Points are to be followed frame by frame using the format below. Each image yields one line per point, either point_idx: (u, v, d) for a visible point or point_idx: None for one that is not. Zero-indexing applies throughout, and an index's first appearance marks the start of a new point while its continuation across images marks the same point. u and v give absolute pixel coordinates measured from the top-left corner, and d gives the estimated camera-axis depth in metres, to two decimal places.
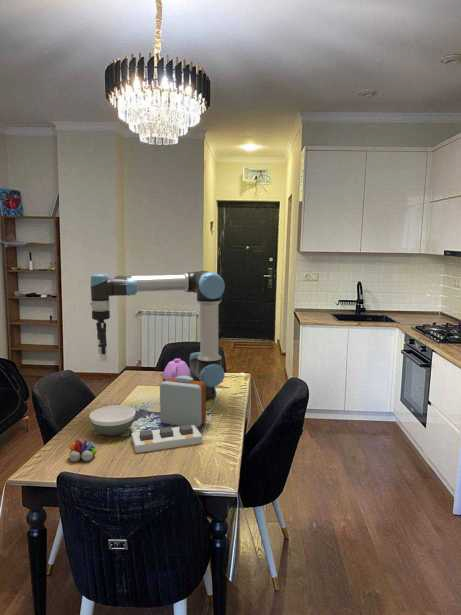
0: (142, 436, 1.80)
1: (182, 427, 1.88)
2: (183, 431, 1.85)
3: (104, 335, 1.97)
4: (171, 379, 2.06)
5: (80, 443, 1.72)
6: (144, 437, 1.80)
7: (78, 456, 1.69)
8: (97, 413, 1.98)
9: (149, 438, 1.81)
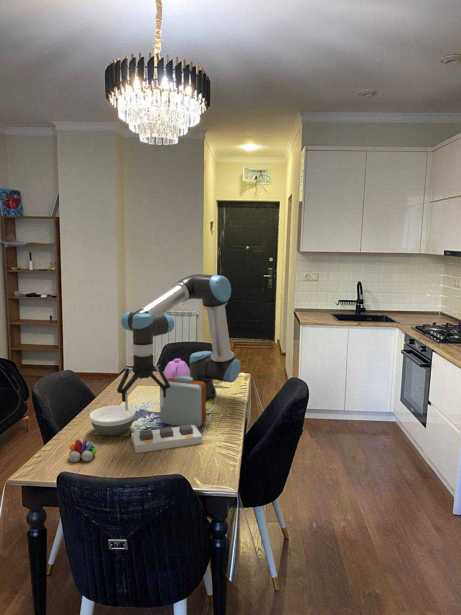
0: (142, 436, 1.80)
1: (182, 427, 1.88)
2: (183, 431, 1.85)
3: (121, 381, 1.77)
4: (171, 379, 2.06)
5: (80, 443, 1.72)
6: (144, 437, 1.80)
7: (78, 456, 1.68)
8: (97, 413, 1.98)
9: (149, 438, 1.81)
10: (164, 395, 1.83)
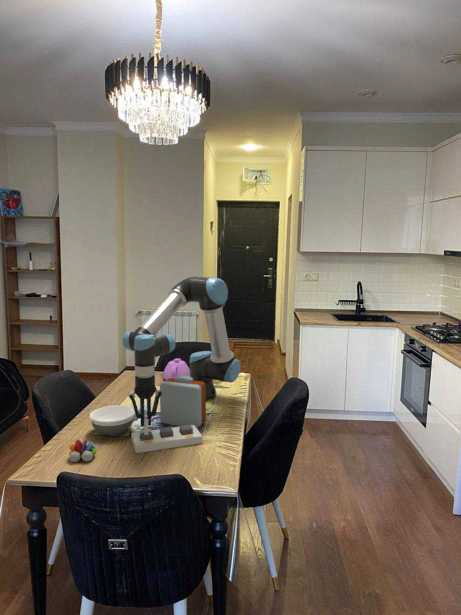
0: (142, 438, 1.80)
1: (182, 427, 1.88)
2: (183, 431, 1.85)
3: None
4: (171, 379, 2.06)
5: (80, 443, 1.72)
6: (144, 439, 1.80)
7: (78, 456, 1.68)
8: (97, 413, 1.98)
9: None
10: (149, 423, 1.82)
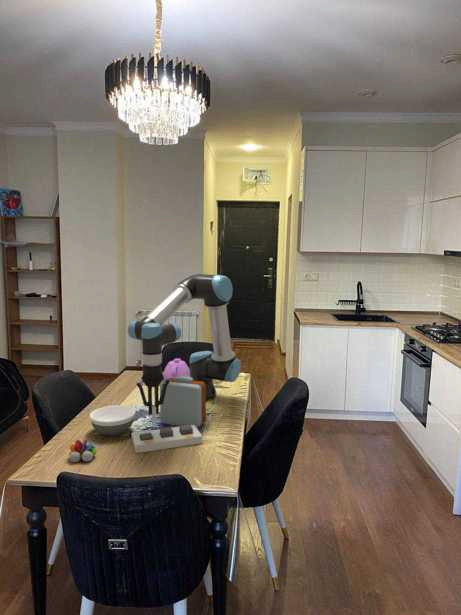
0: (142, 439, 1.80)
1: (182, 427, 1.88)
2: (183, 431, 1.85)
3: (141, 395, 1.80)
4: (171, 379, 2.06)
5: (80, 443, 1.72)
6: None
7: (78, 456, 1.68)
8: (97, 413, 1.98)
9: None
10: (157, 411, 1.82)
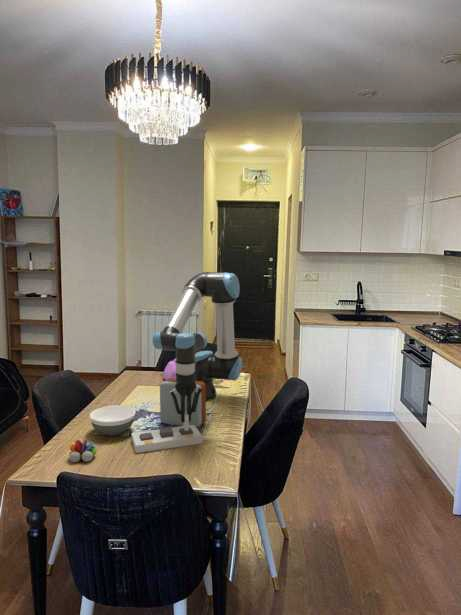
0: (142, 439, 1.80)
1: (182, 430, 1.88)
2: (183, 434, 1.86)
3: (174, 404, 1.84)
4: (171, 379, 2.06)
5: (80, 444, 1.72)
6: None
7: (78, 457, 1.68)
8: (97, 413, 1.98)
9: None
10: (189, 419, 1.87)
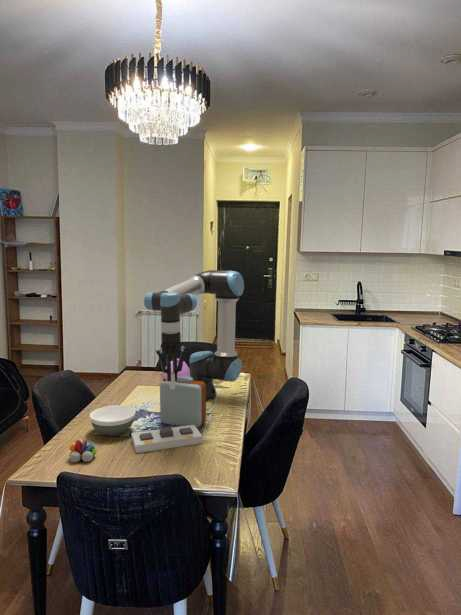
0: (142, 439, 1.80)
1: (182, 430, 1.88)
2: (183, 434, 1.86)
3: (160, 362, 1.85)
4: None
5: (80, 444, 1.72)
6: None
7: (78, 457, 1.68)
8: (97, 413, 1.98)
9: None
10: (175, 378, 1.89)
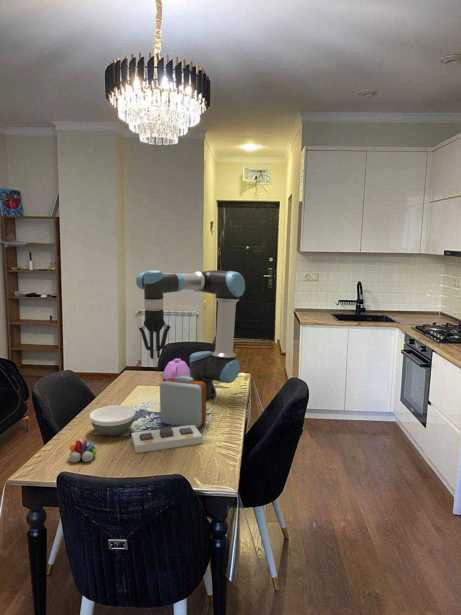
0: (142, 439, 1.80)
1: (182, 430, 1.88)
2: (183, 434, 1.86)
3: (143, 339, 1.88)
4: (171, 379, 2.06)
5: (80, 444, 1.72)
6: None
7: (78, 457, 1.68)
8: (97, 413, 1.98)
9: None
10: (158, 356, 1.91)
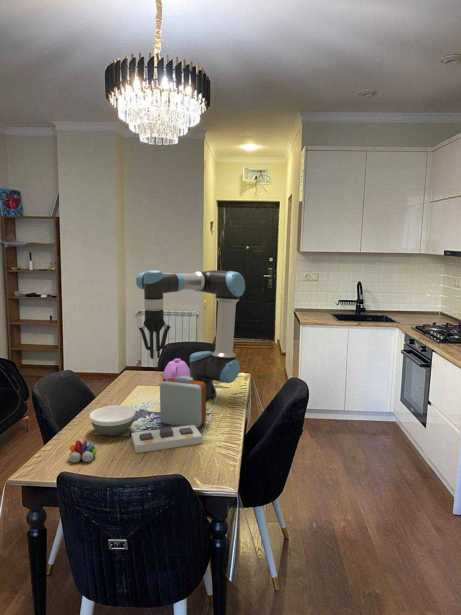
0: (142, 439, 1.80)
1: (182, 430, 1.88)
2: (183, 434, 1.86)
3: (143, 339, 1.88)
4: (171, 379, 2.06)
5: (80, 444, 1.72)
6: None
7: (78, 457, 1.68)
8: (97, 413, 1.98)
9: None
10: (158, 356, 1.91)
